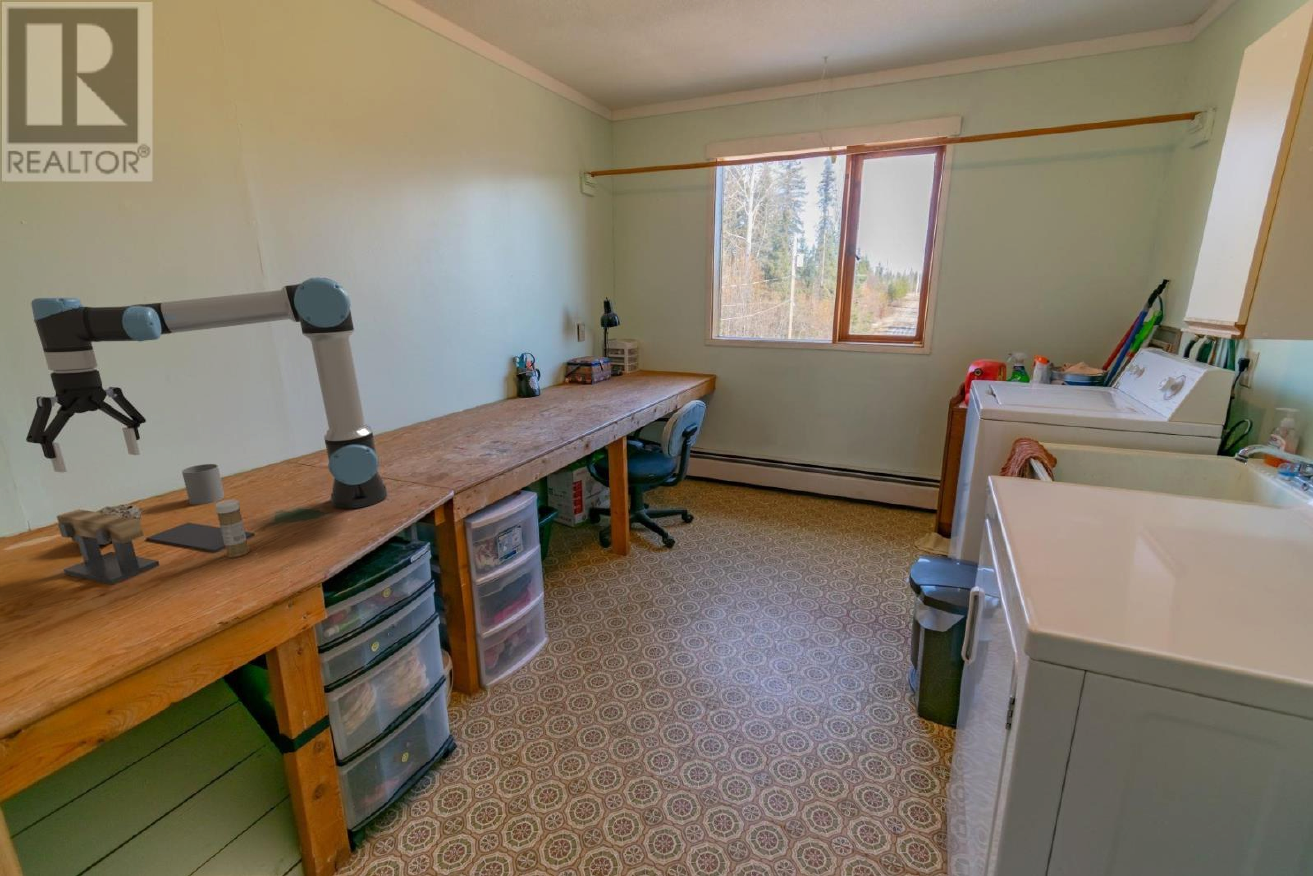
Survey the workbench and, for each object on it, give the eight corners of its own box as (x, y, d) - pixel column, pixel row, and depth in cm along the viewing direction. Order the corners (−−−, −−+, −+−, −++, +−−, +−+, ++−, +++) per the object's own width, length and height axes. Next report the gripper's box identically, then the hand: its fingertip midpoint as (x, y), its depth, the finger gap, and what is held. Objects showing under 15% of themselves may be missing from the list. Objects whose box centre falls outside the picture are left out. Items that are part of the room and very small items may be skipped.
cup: (183, 505, 163) (176, 474, 161) (198, 496, 171) (190, 465, 168) (217, 502, 166) (209, 471, 163) (229, 493, 173) (222, 463, 171)
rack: (159, 565, 129) (146, 517, 125) (113, 584, 120) (98, 534, 117) (112, 556, 133) (98, 510, 130) (64, 574, 125) (49, 525, 122)
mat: (254, 535, 144) (254, 533, 144) (215, 552, 135) (215, 550, 135) (188, 524, 151) (187, 522, 151) (146, 540, 141) (146, 538, 141)
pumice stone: (120, 526, 149) (113, 499, 147) (160, 528, 148) (152, 501, 146) (62, 550, 136) (52, 520, 134) (104, 553, 135) (95, 522, 133)
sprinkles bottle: (247, 547, 137) (236, 497, 134) (251, 553, 134) (240, 502, 131) (224, 554, 134) (212, 502, 130) (228, 560, 131) (216, 507, 127)
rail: (143, 535, 123) (139, 519, 122) (122, 543, 120) (117, 526, 119) (83, 525, 129) (78, 509, 128) (61, 532, 125) (56, 515, 124)
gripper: (130, 362, 133) (151, 446, 139) (-18, 377, 110) (14, 477, 116) (151, 363, 131) (171, 449, 137) (5, 379, 108) (36, 481, 114)
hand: (99, 462), depth 126 cm, fingers open, 13 cm apart
